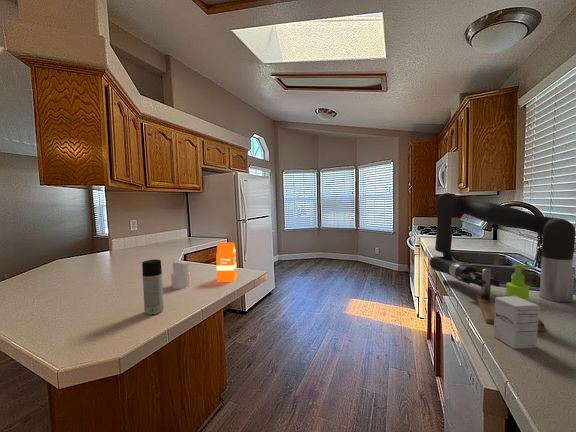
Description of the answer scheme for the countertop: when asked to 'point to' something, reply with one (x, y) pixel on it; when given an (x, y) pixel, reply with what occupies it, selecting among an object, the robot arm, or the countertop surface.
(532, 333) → the supplement box
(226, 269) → the orange juice
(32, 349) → the countertop surface
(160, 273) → the spray can
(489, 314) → the base with upright cylinder
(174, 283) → the white lidded jar
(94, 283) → the countertop surface
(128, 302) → the countertop surface
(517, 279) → the soap dispenser
